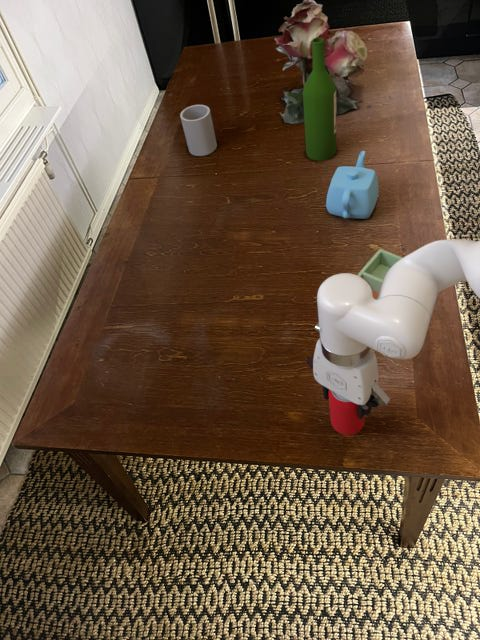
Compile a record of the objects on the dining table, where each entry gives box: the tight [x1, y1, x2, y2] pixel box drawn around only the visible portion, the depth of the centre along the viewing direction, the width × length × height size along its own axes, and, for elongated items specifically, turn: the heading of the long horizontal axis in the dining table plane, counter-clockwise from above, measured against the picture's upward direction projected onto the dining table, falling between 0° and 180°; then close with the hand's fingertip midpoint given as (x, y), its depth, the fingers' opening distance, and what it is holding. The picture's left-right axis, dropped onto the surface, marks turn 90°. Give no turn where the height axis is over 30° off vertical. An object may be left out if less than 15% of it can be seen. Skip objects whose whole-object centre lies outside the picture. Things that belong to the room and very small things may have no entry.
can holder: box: [356, 248, 404, 299], centre depth 119 cm, size 9×17×5 cm, turn 141°
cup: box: [179, 104, 218, 157], centre depth 164 cm, size 9×9×12 cm
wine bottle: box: [303, 38, 337, 162], centre depth 145 cm, size 9×9×32 cm
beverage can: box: [328, 389, 366, 436], centre depth 94 cm, size 6×6×12 cm
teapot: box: [325, 150, 380, 220], centre depth 136 cm, size 12×18×12 cm
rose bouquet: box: [274, 0, 368, 125], centre depth 165 cm, size 26×29×30 cm
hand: (346, 402), depth 93 cm, fingers closed on beverage can, 6 cm apart
